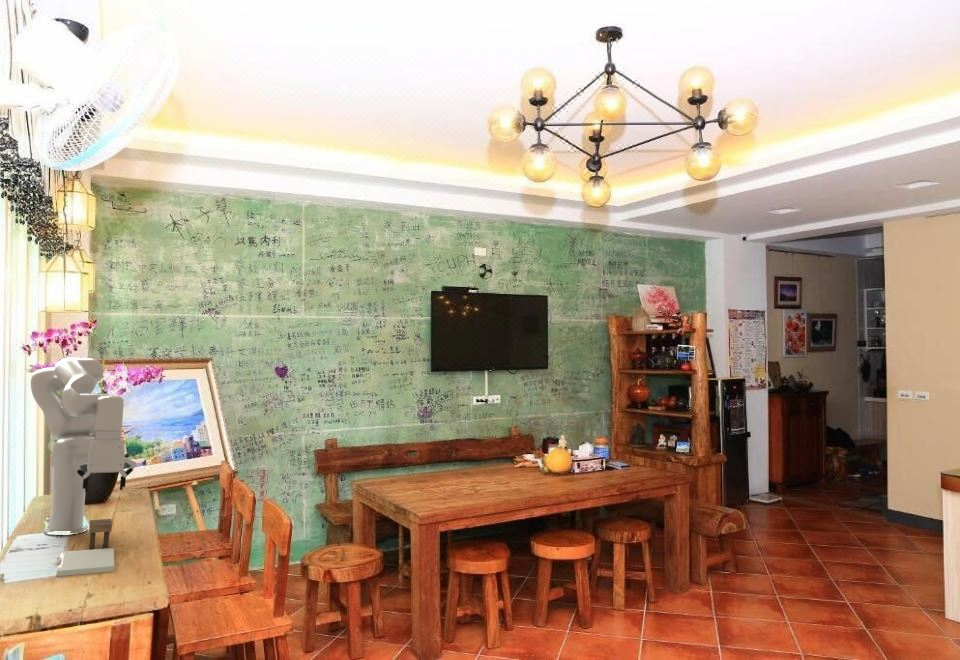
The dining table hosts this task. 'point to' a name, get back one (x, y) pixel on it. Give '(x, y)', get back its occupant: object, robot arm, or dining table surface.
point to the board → (87, 562)
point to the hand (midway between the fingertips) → (103, 490)
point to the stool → (100, 526)
